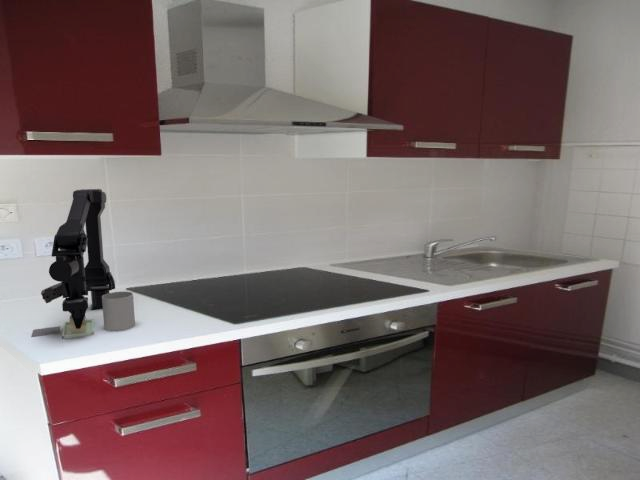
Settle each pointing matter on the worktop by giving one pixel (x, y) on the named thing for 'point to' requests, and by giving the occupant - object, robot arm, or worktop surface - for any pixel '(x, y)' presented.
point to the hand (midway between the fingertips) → (78, 326)
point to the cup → (118, 311)
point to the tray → (68, 334)
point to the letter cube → (73, 328)
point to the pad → (45, 331)
